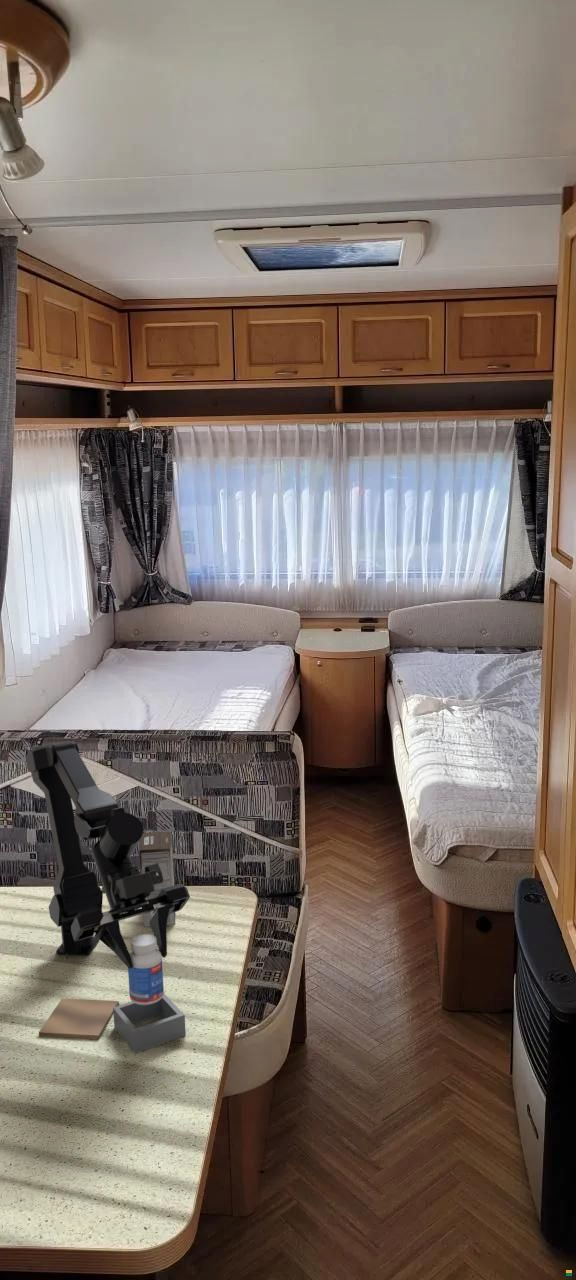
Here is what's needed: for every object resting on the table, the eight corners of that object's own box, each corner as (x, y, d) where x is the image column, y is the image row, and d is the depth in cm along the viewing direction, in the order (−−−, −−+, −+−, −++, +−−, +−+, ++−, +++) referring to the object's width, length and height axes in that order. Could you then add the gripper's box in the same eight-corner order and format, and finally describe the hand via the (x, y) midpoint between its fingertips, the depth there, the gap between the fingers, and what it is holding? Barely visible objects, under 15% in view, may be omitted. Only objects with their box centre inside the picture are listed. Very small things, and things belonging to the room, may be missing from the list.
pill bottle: (157, 1007, 151) (153, 949, 149) (124, 1004, 152) (120, 947, 151) (168, 988, 157) (165, 932, 155) (137, 986, 158) (133, 930, 156)
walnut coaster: (62, 1001, 165) (61, 998, 165) (118, 1004, 164) (118, 1001, 163) (39, 1035, 155) (38, 1032, 155) (99, 1039, 154) (98, 1035, 154)
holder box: (114, 1027, 157) (112, 1007, 156) (163, 1010, 161) (161, 991, 161) (135, 1053, 150) (133, 1032, 149) (185, 1035, 154) (184, 1014, 153)
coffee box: (144, 906, 200) (139, 832, 197) (176, 904, 200) (171, 830, 197) (143, 927, 191) (137, 849, 188) (176, 924, 191) (171, 847, 188)
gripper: (71, 865, 149) (102, 961, 141) (182, 837, 158) (216, 926, 151) (58, 894, 157) (87, 987, 150) (164, 865, 166) (196, 951, 159)
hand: (148, 962), depth 152 cm, fingers closed on pill bottle, 5 cm apart
